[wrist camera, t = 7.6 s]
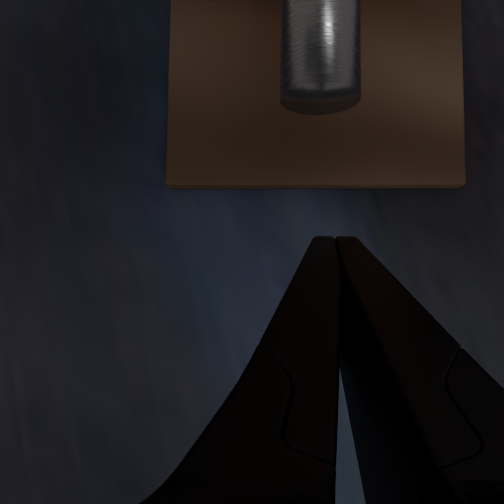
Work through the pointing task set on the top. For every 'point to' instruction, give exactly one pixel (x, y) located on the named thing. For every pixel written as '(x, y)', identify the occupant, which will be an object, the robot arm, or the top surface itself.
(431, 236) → the top surface
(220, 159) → the pipe stand
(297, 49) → the pipe
